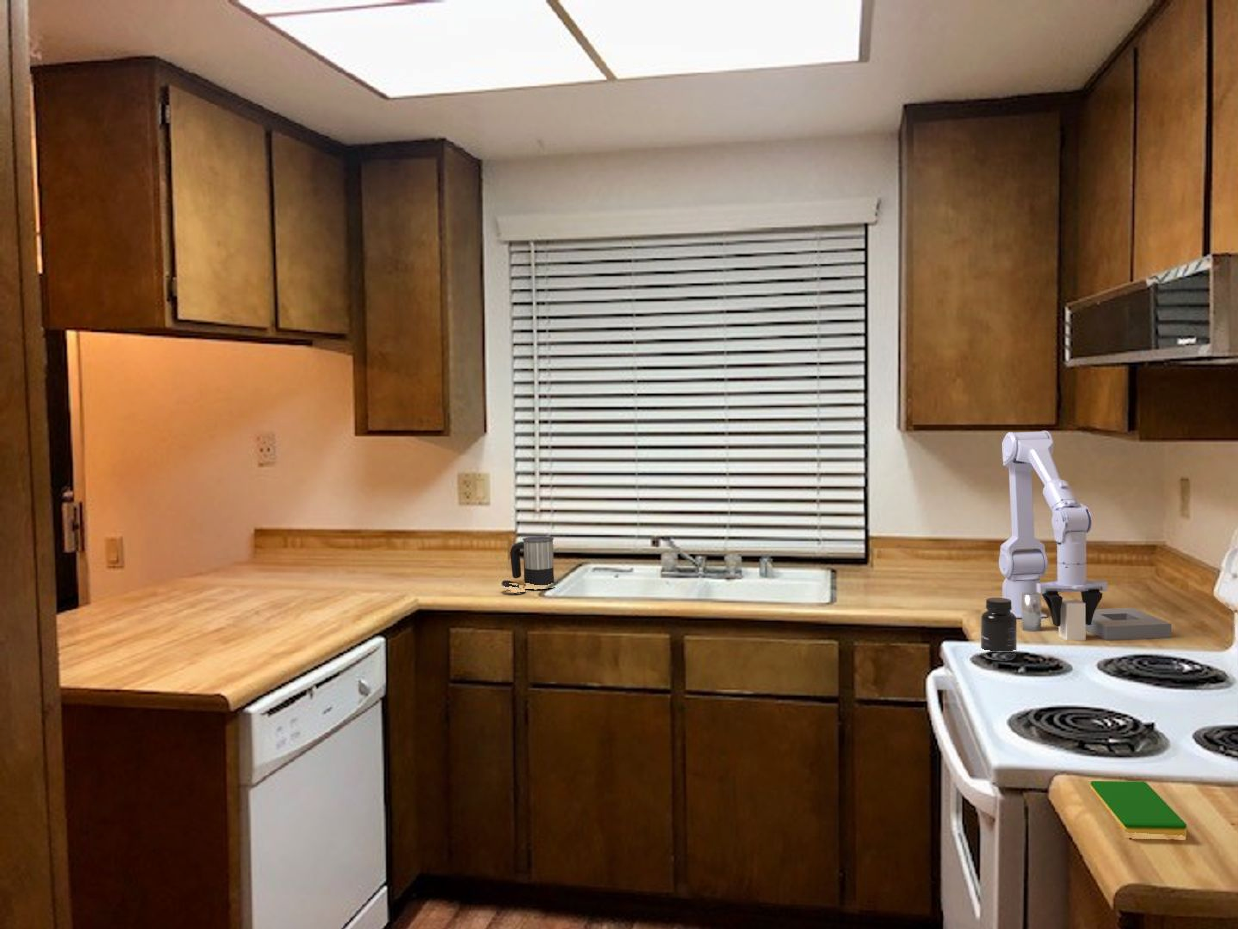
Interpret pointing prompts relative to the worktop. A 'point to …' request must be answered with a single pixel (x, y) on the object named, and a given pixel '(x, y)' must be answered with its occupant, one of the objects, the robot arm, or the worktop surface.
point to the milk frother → (533, 561)
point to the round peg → (1031, 611)
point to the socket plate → (1127, 625)
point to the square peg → (1072, 620)
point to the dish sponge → (1138, 808)
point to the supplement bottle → (998, 626)
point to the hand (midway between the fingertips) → (1071, 624)
